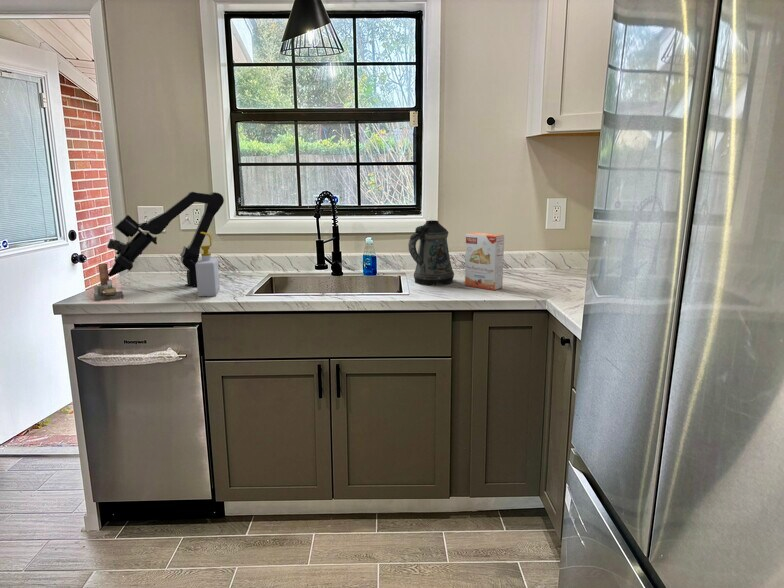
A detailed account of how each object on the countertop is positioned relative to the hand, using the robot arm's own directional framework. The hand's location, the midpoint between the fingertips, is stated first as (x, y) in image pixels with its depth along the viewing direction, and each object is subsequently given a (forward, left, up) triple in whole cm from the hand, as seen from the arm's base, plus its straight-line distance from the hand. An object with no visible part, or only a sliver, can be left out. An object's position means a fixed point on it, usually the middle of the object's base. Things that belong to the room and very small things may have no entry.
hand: (109, 275), depth 218 cm
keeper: (-4, +6, -6) cm, 9 cm away
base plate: (-6, +5, -7) cm, 10 cm away
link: (-4, +4, -5) cm, 8 cm away
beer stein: (-103, -71, -7) cm, 125 cm away
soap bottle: (-35, -16, -7) cm, 39 cm away
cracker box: (-125, -71, -7) cm, 144 cm away
